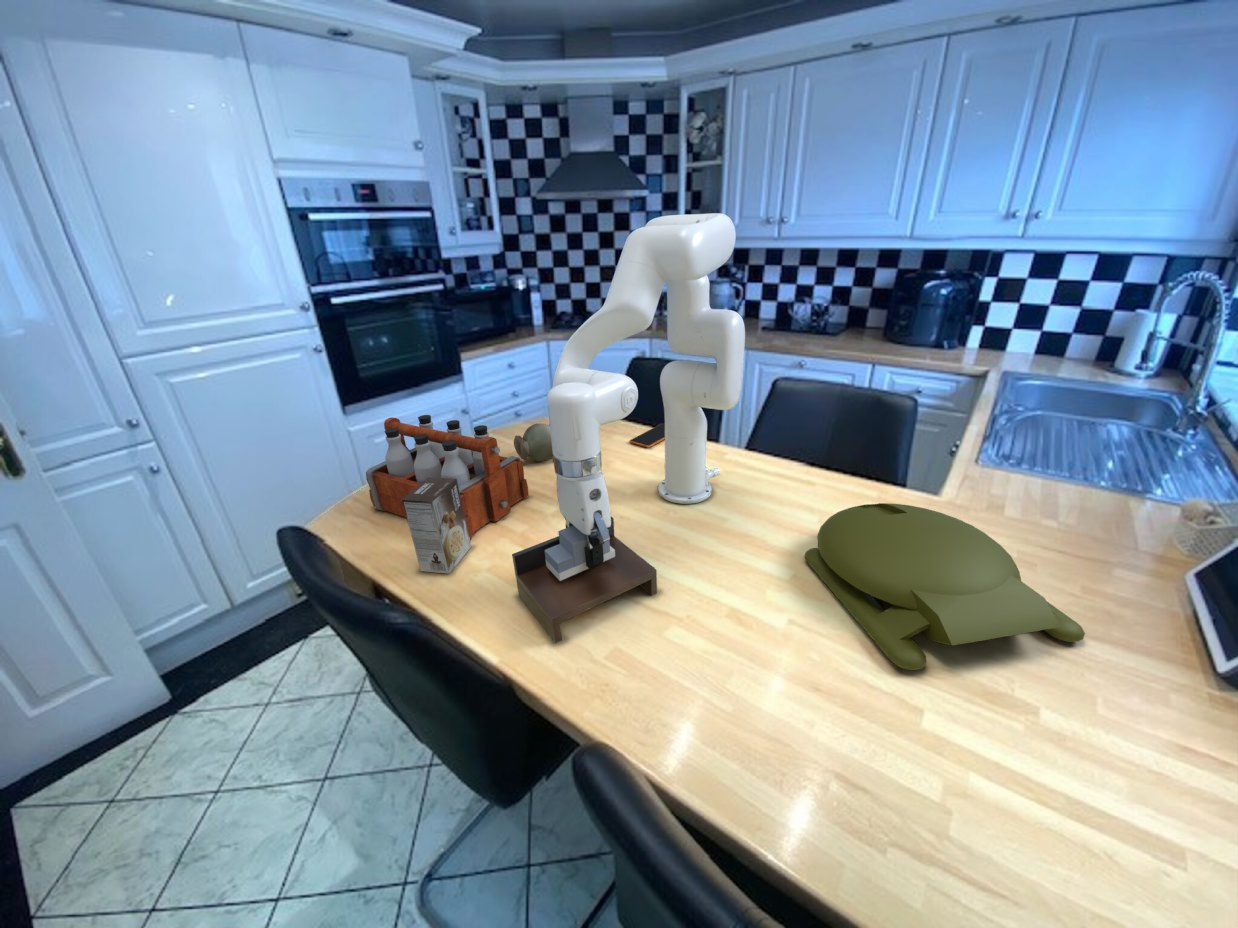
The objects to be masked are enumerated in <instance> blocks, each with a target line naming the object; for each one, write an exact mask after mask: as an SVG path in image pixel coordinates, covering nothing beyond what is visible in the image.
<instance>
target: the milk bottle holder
mask: <svg viewBox="0 0 1238 928" xmlns="http://www.w3.org/2000/svg"><path fill="white" fill-rule="evenodd" d="M417 419H418V425H414V424H408V423H403V422H401V420H400V419H399V418H397V417H393V416H391V417H388V418H386V419H385V420H384V422H383V427H384V433H385V440H386V442H387V445H388V446H387V450H386V453H385V459H384V460H385V461H383V462H380V463H378V464H376V465H373V466H372V467H369V468H368V469H367V470H366V471H365V477H366V479H365V480H366V482H367V484H368V487H369V489H368V494H369V498H370V501H371V504H372V505H373V507H374V508H375V509H376V510H379V511H382V512H385V511H386V512H389V513H392V514H395V515H398V516H401V517H404V518H407V517H406V514H405V510H404V506H403V502H402V499H403V498H404V497H405V496H406V495H408V494H409V493H410V492H411V491H412V490H414V489H415V488H416V487H417V486H418V485H419V484H421V483H422V482H423V481H424V480H425V479H426V478H428V477H430V478H456V479H457V483H458V487H459V492H460V497H461V501H462V506H463V511H464V515H465V520H466V525H467V530H468V534H469V538H471V537H472V536H474V535H475V532H477V531H478V530H479V529H480V528H482V527H483V526H485V525H486V524H487V523H489V522H490V521H492V522H497V521H499V520H500V519H502V518H503V517H505V516H506V515H507V514H509V513H510V512H511V507H512V506H513V505H515V504H516V503H518V502H519V501H520V500H522V499H526V498H528V497H529V485H528V481H527V479H526V478H525V472H524V471H525V469H524V463H523V460H521V458H520V457H519V456H516V455H515V456H514V455H511V456H509V457H506V456H502V455H500V452H501V448H500V447H499V446H498V440H497V439H496V438H495V437H493V436H490V433H489V431H488V426H487V425H481V424H480V425H476V426H474V427H473V431H474V435H473V437H472V436H469V435H468V436H467V435H463V434H462V426H461V425H460V420H458V419H453V420H448V421H447V422H446V426H447V428H446V431H443V430H438V429H434V422H433V420H432V415H430V414H423V415H419V416H418V417H417ZM405 437H408V438H413V440H414V447H413V448H411V449H409V448H408V447H407V443H406V439H405Z"/></svg>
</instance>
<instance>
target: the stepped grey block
mask: <svg viewBox="0 0 1238 928" xmlns="http://www.w3.org/2000/svg"><path fill="white" fill-rule="evenodd" d="M593 527H595V526H594V525H593ZM606 529H607V528H606ZM607 531H608V534H609V530H608V529H607ZM557 532H558V536H559V541H560V544H558V545H556V546H553V547H551V548H548V549H546V550H544V551H545V558H546V566H547V568H548V569H549V570H550V571H551V572H552V573H553V574H554V575H555V576H556V577H557V578H558V579H559V581H561V580H564V579H566V578H568V577H570V576H573V575H575V574H577V573H579V572H582V571H584V570H586V569H588V567H587V566H586V558H585V547H587V545H586V541H585V537H584V533H582V532H581V531H580V530H578V529H577V528H576V527H575V526H574V525H573V526H570V527H568V528H566V527H565V528H563V529H560V530H558V531H557ZM590 537H591V541H592V540H593V539H594V538H596V537H597V535H596V532H595V533H593V534H590ZM603 556H604V561H606V560H609V559H611V558H613V557H615V549H613V548H612V547H611V546H610V542H609V540H608V541H606V542H604V544H603ZM604 561H603V562H604Z"/></svg>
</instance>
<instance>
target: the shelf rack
mask: <svg viewBox="0 0 1238 928" xmlns="http://www.w3.org/2000/svg"><path fill="white" fill-rule="evenodd" d="M614 520H615V519H614V517H613V516H611V526H610V527H608V528H607V529H608V530H609V536H610V540H609V542H610V546H611V547H612V548H613V549H615V557H613V558H611V559H609V560H606V561H604V562H602V563H600V564H597V565H595V566H593V567H591V568H588V569H586V570H584V571H582V572H579V573H577V574H575V575H573V576H570V577H568V578H566V579H564V580H561V581H559V579H558V578H557V577H556V576H555V575H554V574H553V573H552V572H551V571H550V570H549V569H548V568H547V566H546V558H545V551H544V550H546V549H548V548H551V547H553V546H556V545H558V544H560V541H559V535H558V536H555V537H552V538H550V539H547V540H545V541H542V542H539V543H537V544H535V545H532V546H529V547H526V548H524V549H522V550H519V551H516V552H514V553H511V555H512V556H511V557H512V562H513V563H512V564H513V568H514V569H513V570H514V575H515V581H516V588H517V592H518V597H519V598H520V600H521V601H522V602H523V604H525V606H526V607H527V608H528V610H529V611H530V613H531V614H532V615H533V617H534V618H535V619H536V620H537V621H538V623H539V624H540V626H542V628H543V629H544V631H545V632H546V633H547V634H548V636H549V637H550V639H551V640H552V641H553V642H554V643H555V644H557V643H560V642H562V641H563V637H562V636H563V635H562V627H561V623H564V622H566V621H568V620H571V618H574V617H576V616H578V615H580V614H582V613H584V612H587V611H588V610H590V609H593V608H595V607H597V606H599V605H601V604H603V603H605V602H607V601H609V600H611V599H614V598H616V597H617V596H620V595H621V594H623V593H626V592H628V591H630V590H631V589H634V588H636V587H638V586H640V587H641V588H642V589H643V590H645V592H646V593H648V594H649V595H650V596H653V595H656V594H657V593H658V576H657V572H658V571H657V568H655V567H654V566H653V565H651V564H650V562H648V561H646V559H644V558H642V556H640V555H639V554H638V553H636V552H635V551H634V550H632V549H631V548H630V547H629V546H628V545H626V544H625V543H624V542H623V541H621V540H620V539H619V538H617V537H616V536H615V522H614Z"/></svg>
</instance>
